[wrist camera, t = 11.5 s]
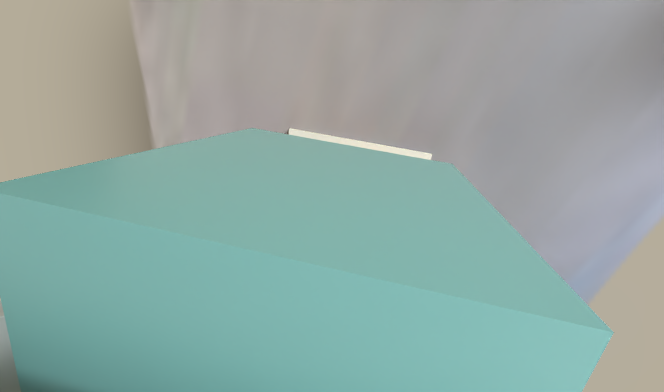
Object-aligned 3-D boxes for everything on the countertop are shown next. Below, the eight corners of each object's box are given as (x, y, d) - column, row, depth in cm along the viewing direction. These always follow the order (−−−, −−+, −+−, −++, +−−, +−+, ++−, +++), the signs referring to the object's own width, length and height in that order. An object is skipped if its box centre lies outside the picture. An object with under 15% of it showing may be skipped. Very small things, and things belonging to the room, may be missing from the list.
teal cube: (252, 128, 12) (-24, 187, 4) (452, 163, 11) (614, 332, 3) (241, 292, 15) (53, 538, 7) (405, 332, 14) (428, 677, 6)
